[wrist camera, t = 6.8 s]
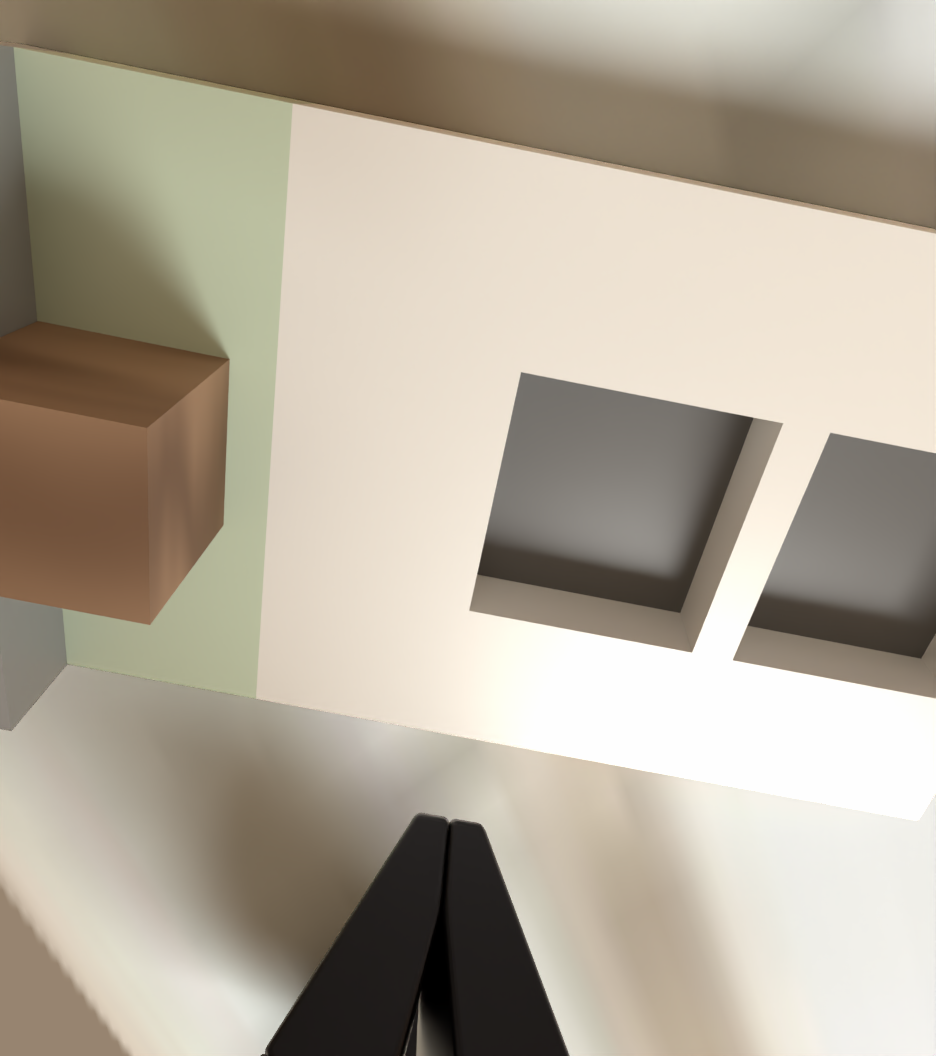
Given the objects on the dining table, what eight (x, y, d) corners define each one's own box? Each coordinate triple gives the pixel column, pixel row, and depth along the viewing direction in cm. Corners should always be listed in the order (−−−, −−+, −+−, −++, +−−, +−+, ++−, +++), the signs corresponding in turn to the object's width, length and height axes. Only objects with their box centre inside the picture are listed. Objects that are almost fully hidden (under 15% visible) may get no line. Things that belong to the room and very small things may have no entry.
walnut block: (223, 524, 18) (150, 625, 15) (52, 492, 18) (-64, 584, 15) (229, 359, 16) (146, 427, 13) (38, 320, 16) (-99, 380, 13)
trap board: (888, 765, 23) (963, 904, 19) (68, 613, 22) (-32, 723, 18) (1180, 278, 16) (1392, 333, 12) (21, 43, 16) (-152, 21, 12)
